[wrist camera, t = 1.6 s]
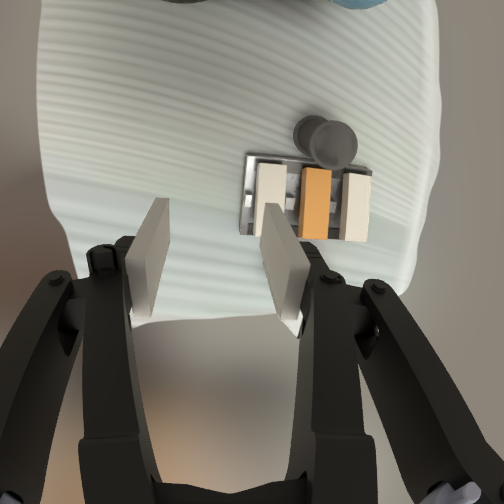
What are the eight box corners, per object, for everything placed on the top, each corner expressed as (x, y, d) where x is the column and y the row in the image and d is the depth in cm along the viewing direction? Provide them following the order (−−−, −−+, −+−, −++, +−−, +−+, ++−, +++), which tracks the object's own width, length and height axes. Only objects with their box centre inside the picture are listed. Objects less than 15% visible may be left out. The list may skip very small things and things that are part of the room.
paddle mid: (302, 169, 39) (306, 167, 37) (325, 171, 39) (331, 170, 37) (298, 236, 40) (302, 238, 38) (321, 237, 40) (327, 239, 39)
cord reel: (296, 112, 37) (314, 117, 30) (336, 119, 38) (361, 126, 31) (290, 153, 40) (307, 167, 33) (330, 158, 41) (352, 172, 34)
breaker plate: (246, 153, 39) (248, 158, 36) (366, 167, 42) (377, 174, 39) (239, 228, 44) (240, 239, 41) (351, 234, 47) (360, 245, 44)
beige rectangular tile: (343, 174, 39) (349, 172, 38) (364, 177, 40) (371, 176, 38) (339, 238, 41) (345, 240, 39) (360, 240, 41) (366, 241, 39)
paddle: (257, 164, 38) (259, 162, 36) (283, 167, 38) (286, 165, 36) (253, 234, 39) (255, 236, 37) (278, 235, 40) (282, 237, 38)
